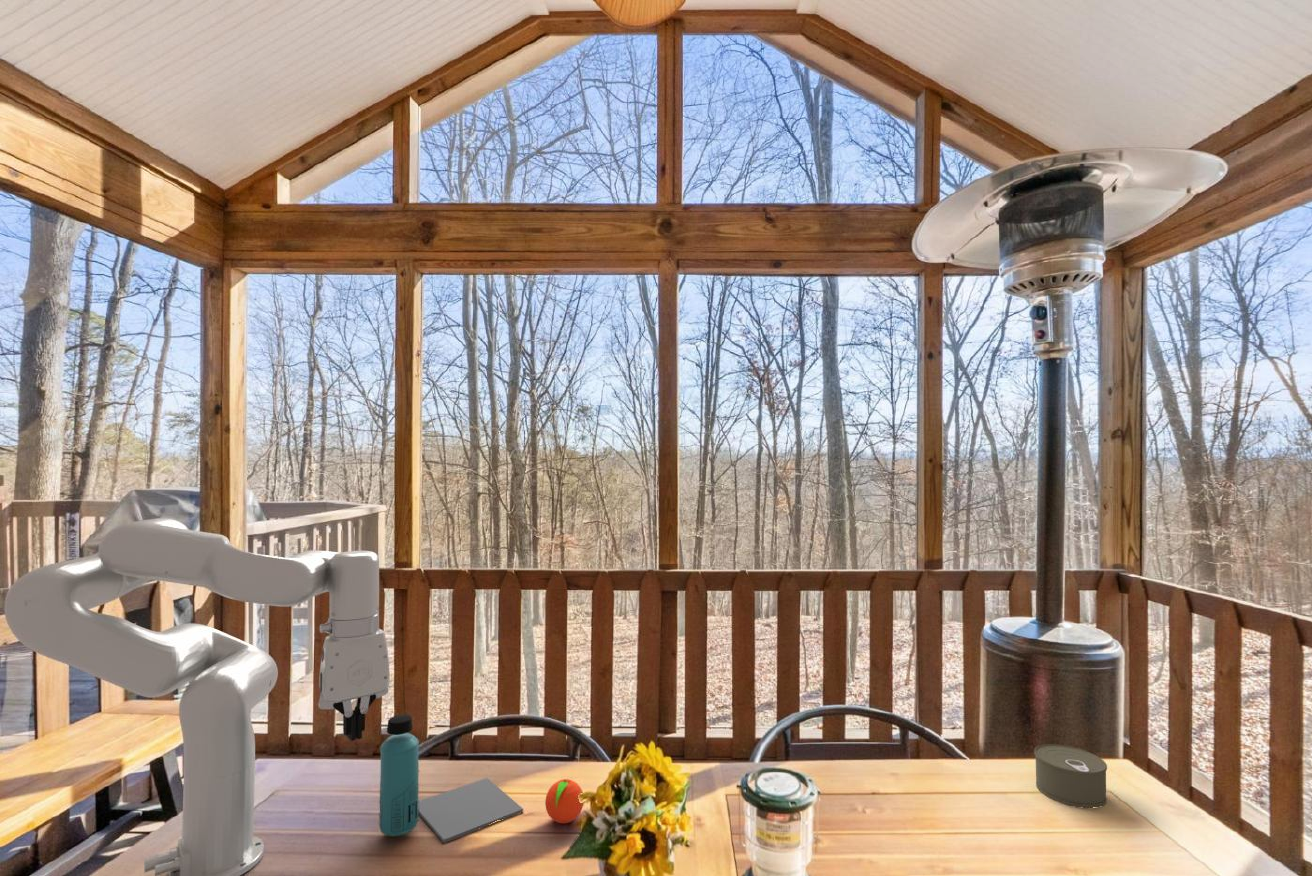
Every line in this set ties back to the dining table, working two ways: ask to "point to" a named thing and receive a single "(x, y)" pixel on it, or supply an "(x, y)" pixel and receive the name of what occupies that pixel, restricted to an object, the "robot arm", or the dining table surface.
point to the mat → (466, 809)
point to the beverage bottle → (399, 778)
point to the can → (1070, 775)
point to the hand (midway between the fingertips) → (354, 736)
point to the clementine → (563, 801)
